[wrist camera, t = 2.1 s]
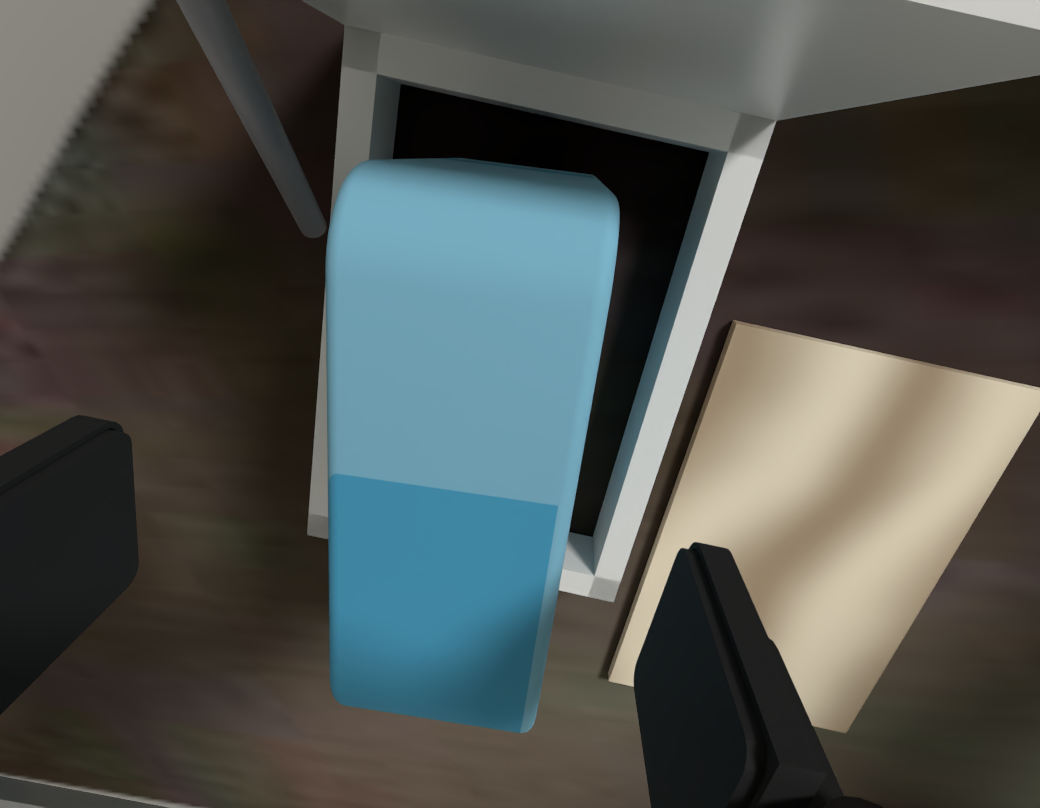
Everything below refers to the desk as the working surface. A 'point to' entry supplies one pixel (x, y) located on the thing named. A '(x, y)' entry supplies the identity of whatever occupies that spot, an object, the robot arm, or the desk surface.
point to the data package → (457, 426)
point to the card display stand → (631, 110)
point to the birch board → (832, 499)
